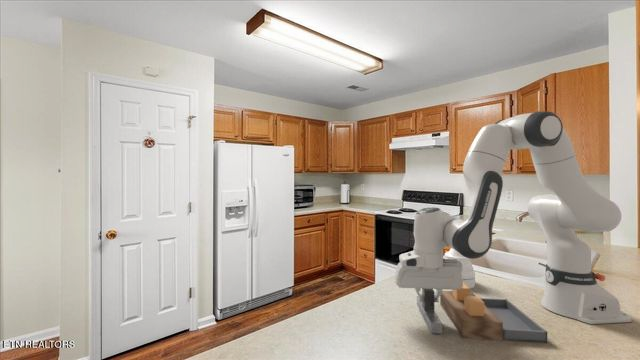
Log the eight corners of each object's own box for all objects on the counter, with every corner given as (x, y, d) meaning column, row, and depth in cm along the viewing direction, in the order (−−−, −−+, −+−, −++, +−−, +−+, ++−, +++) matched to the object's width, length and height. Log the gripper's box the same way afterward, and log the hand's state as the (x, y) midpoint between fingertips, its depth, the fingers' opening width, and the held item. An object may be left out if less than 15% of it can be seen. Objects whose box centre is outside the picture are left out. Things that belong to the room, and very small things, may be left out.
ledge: (471, 306, 97) (471, 292, 97) (502, 340, 77) (502, 322, 77) (440, 304, 98) (440, 290, 98) (462, 337, 78) (463, 320, 78)
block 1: (464, 295, 94) (464, 283, 94) (469, 300, 90) (469, 288, 90) (452, 294, 95) (452, 283, 95) (456, 300, 91) (456, 288, 91)
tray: (506, 307, 96) (506, 299, 96) (547, 342, 76) (547, 332, 76) (471, 306, 97) (471, 297, 97) (502, 340, 77) (502, 329, 77)
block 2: (477, 309, 84) (478, 296, 84) (484, 316, 80) (484, 302, 80) (464, 308, 85) (464, 296, 85) (469, 315, 81) (469, 302, 81)
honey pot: (440, 275, 127) (441, 236, 126) (472, 279, 122) (473, 238, 122) (442, 285, 115) (442, 242, 114) (477, 290, 110) (477, 245, 110)
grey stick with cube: (425, 304, 98) (425, 279, 98) (442, 333, 80) (442, 302, 80) (416, 304, 98) (416, 278, 98) (431, 333, 80) (431, 302, 80)
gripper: (458, 256, 91) (458, 298, 91) (394, 254, 93) (394, 295, 93) (466, 262, 84) (466, 307, 85) (397, 260, 87) (397, 304, 87)
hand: (428, 301), depth 89 cm, fingers closed on grey stick with cube, 3 cm apart
